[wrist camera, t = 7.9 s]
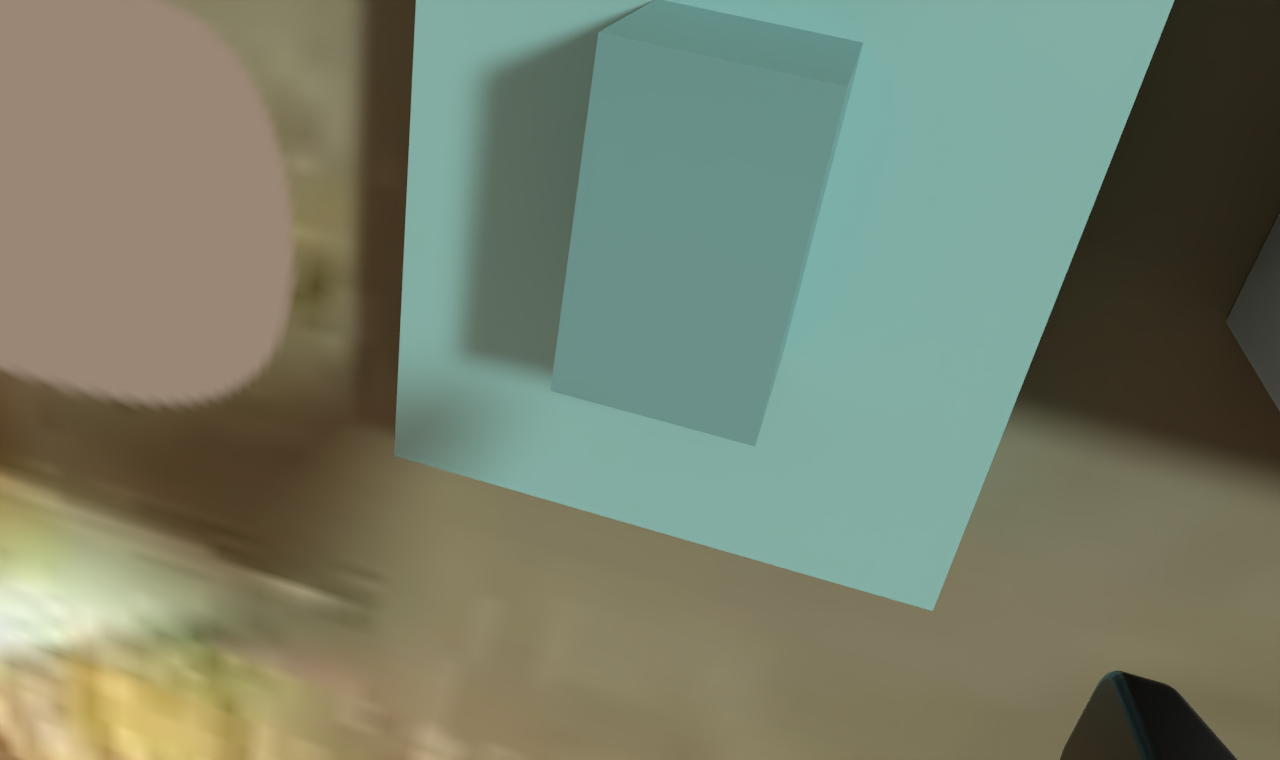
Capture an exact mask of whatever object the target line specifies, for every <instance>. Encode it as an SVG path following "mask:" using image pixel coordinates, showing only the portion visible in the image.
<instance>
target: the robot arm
mask: <svg viewBox="0 0 1280 760" xmlns="http://www.w3.org/2000/svg"><path fill="white" fill-rule="evenodd" d="M1060 760H1237V759H1236V758H1235V756H1234V755H1233V754H1232V753H1231V752H1230V751H1229V750H1228V748H1227V747H1226V746H1225V745H1224V744H1223V743H1222V742H1221V740H1220V739H1219V738H1218V737H1217V736H1216V735H1215V734H1214V732H1213V731H1212V730H1211V729H1210V728H1209V727H1208V726H1207V724H1206V723H1205V722H1204V721H1203V720H1202V719H1201V718H1200V716H1199V715H1198V714H1197V713H1196V712H1195V711H1194V710H1193V708H1192V707H1191V706H1190V705H1189V704H1188V703H1187V702H1186V700H1185V699H1184V698H1183V697H1182V696H1181V695H1180V694H1179V693H1178V692H1177V691H1176V690H1175V689H1174V688H1172V687H1171V686H1169V685H1167V684H1164V683H1161V682H1157V681H1154V680H1150V679H1147V678H1143V677H1140V676H1137V675H1133V674H1130V673H1126V672H1123V671H1114V672H1110V673H1107V674H1106V675H1105V676H1104V677H1103V678H1102V679H1101V680H1100V682H1099V683H1098V685H1097V687H1096V688H1095V690H1094V692H1093V694H1092V696H1091V698H1090V700H1089V702H1088V704H1087V705H1086V707H1085V709H1084V711H1083V713H1082V715H1081V717H1080V719H1079V720H1078V722H1077V724H1076V726H1075V728H1074V730H1073V732H1072V734H1071V736H1070V737H1069V739H1068V741H1067V743H1066V745H1065V747H1064V749H1063V752H1062V755H1061V758H1060Z"/></svg>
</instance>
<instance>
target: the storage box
mask: <svg viewBox="0 0 1280 760" xmlns="http://www.w3.org/2000/svg"><path fill="white" fill-rule="evenodd" d="M1226 323H1227V325H1228V327H1229V328H1230V330H1231V332H1232V333H1233V335H1234V337H1235V338H1236V340H1237V342H1238V343H1239V345H1240V347H1241V348H1242V350H1243V352H1244V353H1245V355H1246V357H1247V358H1248V360H1249V362H1250V363H1251V365H1252V367H1253V368H1254V370H1255V372H1256V373H1257V375H1258V377H1259V378H1260V380H1261V382H1262V383H1263V385H1264V387H1265V388H1266V390H1267V392H1268V393H1269V395H1270V397H1271V398H1272V400H1273V402H1274V403H1275V405H1276V407H1277V408H1278V410H1279V412H1280V213H1279V215H1278V217H1277V219H1276V221H1275V223H1274V225H1273V227H1272V229H1271V231H1270V233H1269V235H1268V237H1267V239H1266V241H1265V243H1264V245H1263V247H1262V249H1261V251H1260V253H1259V255H1258V258H1257V260H1256V262H1255V264H1254V266H1253V268H1252V270H1251V272H1250V274H1249V276H1248V278H1247V280H1246V282H1245V284H1244V286H1243V288H1242V290H1241V292H1240V294H1239V296H1238V298H1237V300H1236V302H1235V304H1234V306H1233V308H1232V310H1231V312H1230V314H1229V316H1228V318H1227V320H1226Z"/></svg>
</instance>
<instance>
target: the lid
mask: <svg viewBox="0 0 1280 760" xmlns="http://www.w3.org/2000/svg"><path fill="white" fill-rule="evenodd" d="M1174 1H1175V0H416V10H415V31H414V52H413V72H412V93H411V114H410V135H409V155H408V176H407V197H406V218H405V239H404V259H403V280H402V301H401V322H400V342H399V363H398V384H397V405H396V425H395V446H394V456H396V457H400V458H403V459H407V460H410V461H414V462H417V463H421V464H424V465H428V466H431V467H435V468H438V469H442V470H445V471H448V472H452V473H455V474H459V475H462V476H466V477H469V478H473V479H476V480H480V481H483V482H487V483H490V484H494V485H497V486H501V487H504V488H507V489H511V490H514V491H518V492H521V493H525V494H528V495H532V496H535V497H539V498H542V499H546V500H549V501H553V502H556V503H559V504H563V505H566V506H570V507H573V508H577V509H580V510H584V511H587V512H591V513H594V514H598V515H601V516H605V517H608V518H611V519H615V520H618V521H622V522H625V523H629V524H632V525H636V526H639V527H643V528H646V529H650V530H653V531H657V532H660V533H663V534H667V535H670V536H674V537H677V538H681V539H684V540H688V541H691V542H695V543H698V544H702V545H705V546H709V547H712V548H716V549H719V550H722V551H726V552H729V553H733V554H736V555H740V556H743V557H747V558H750V559H754V560H757V561H761V562H764V563H768V564H771V565H774V566H778V567H781V568H785V569H788V570H792V571H795V572H799V573H802V574H806V575H809V576H813V577H816V578H820V579H823V580H826V581H830V582H833V583H837V584H840V585H844V586H847V587H851V588H854V589H858V590H861V591H865V592H868V593H872V594H875V595H878V596H882V597H885V598H889V599H892V600H896V601H899V602H903V603H906V604H910V605H913V606H917V607H920V608H924V609H927V610H931V611H933V609H934V606H935V604H936V601H937V599H938V596H939V594H940V591H941V589H942V586H943V584H944V581H945V579H946V576H947V574H948V571H949V568H950V566H951V563H952V561H953V558H954V556H955V553H956V551H957V548H958V546H959V543H960V541H961V538H962V536H963V533H964V531H965V528H966V526H967V523H968V521H969V518H970V515H971V513H972V510H973V508H974V505H975V503H976V500H977V498H978V495H979V493H980V490H981V488H982V485H983V483H984V480H985V478H986V475H987V473H988V470H989V467H990V465H991V462H992V460H993V457H994V455H995V452H996V450H997V447H998V445H999V442H1000V440H1001V437H1002V435H1003V432H1004V430H1005V427H1006V425H1007V422H1008V420H1009V417H1010V414H1011V412H1012V409H1013V407H1014V404H1015V402H1016V399H1017V397H1018V394H1019V392H1020V389H1021V387H1022V384H1023V382H1024V379H1025V377H1026V374H1027V372H1028V369H1029V367H1030V364H1031V361H1032V359H1033V356H1034V354H1035V351H1036V349H1037V346H1038V344H1039V341H1040V339H1041V336H1042V334H1043V331H1044V329H1045V326H1046V324H1047V321H1048V319H1049V316H1050V314H1051V311H1052V308H1053V306H1054V303H1055V301H1056V298H1057V296H1058V293H1059V291H1060V288H1061V286H1062V283H1063V281H1064V278H1065V276H1066V273H1067V271H1068V268H1069V266H1070V263H1071V261H1072V258H1073V255H1074V253H1075V250H1076V248H1077V245H1078V243H1079V240H1080V238H1081V235H1082V233H1083V230H1084V228H1085V225H1086V223H1087V220H1088V218H1089V215H1090V213H1091V210H1092V207H1093V205H1094V202H1095V200H1096V197H1097V195H1098V192H1099V190H1100V187H1101V185H1102V182H1103V180H1104V177H1105V175H1106V172H1107V170H1108V167H1109V165H1110V162H1111V160H1112V157H1113V154H1114V152H1115V149H1116V147H1117V144H1118V142H1119V139H1120V137H1121V134H1122V132H1123V129H1124V127H1125V124H1126V122H1127V119H1128V117H1129V114H1130V112H1131V109H1132V107H1133V104H1134V101H1135V99H1136V96H1137V94H1138V91H1139V89H1140V86H1141V84H1142V81H1143V79H1144V76H1145V74H1146V71H1147V69H1148V66H1149V64H1150V61H1151V59H1152V56H1153V54H1154V51H1155V48H1156V46H1157V43H1158V41H1159V38H1160V36H1161V33H1162V31H1163V28H1164V26H1165V23H1166V21H1167V18H1168V16H1169V13H1170V11H1171V8H1172V6H1173V3H1174Z"/></svg>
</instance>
